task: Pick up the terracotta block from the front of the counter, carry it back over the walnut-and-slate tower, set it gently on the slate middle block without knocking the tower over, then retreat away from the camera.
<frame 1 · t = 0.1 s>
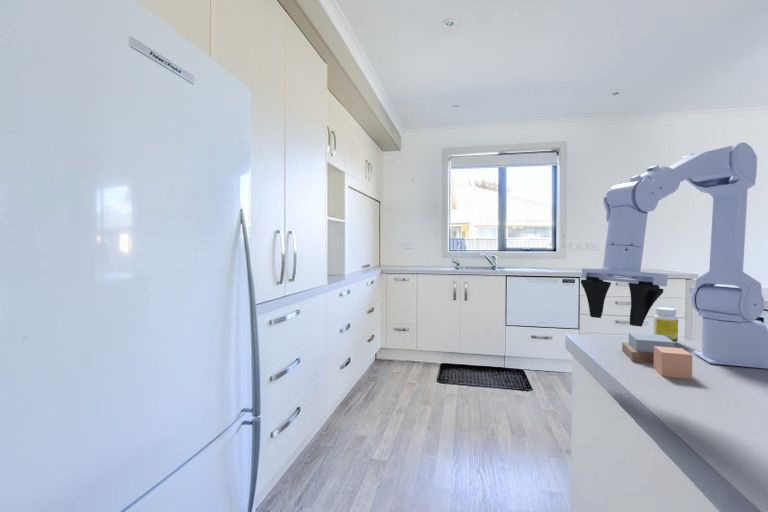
hand: (614, 321, 64), 10 cm above the counter, tool pointing down, fingers open, 7 cm apart
slate middle block: (650, 348, 76), point 2 cm above the counter, touching walnut base block
terracotta block: (671, 373, 67), on the counter
supplement bottle: (665, 342, 89), on the counter
walnut base block: (648, 360, 76), on the counter, touching slate middle block
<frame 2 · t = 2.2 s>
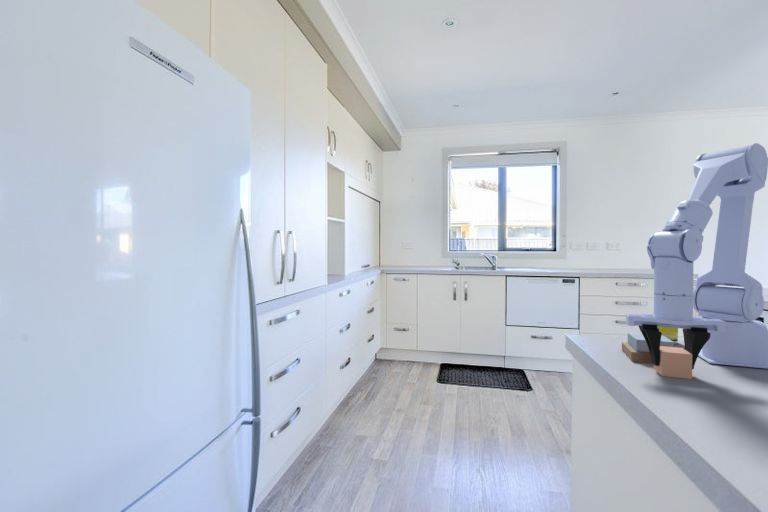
hand: (672, 365, 67), 1 cm above the counter, tool pointing down, fingers closed on terracotta block, 4 cm apart
terracotta block: (671, 373, 67), on the counter, touching gripper
everything else where it was.
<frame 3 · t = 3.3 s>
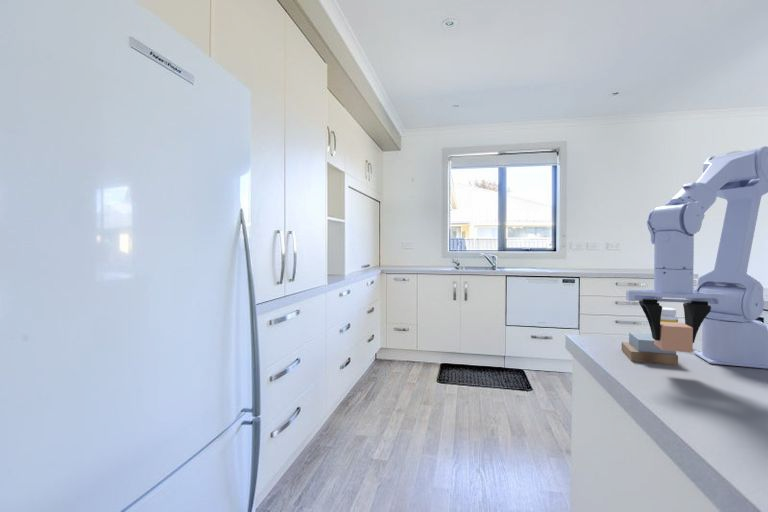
hand: (672, 340, 67), 6 cm above the counter, tool pointing down, fingers closed on terracotta block, 4 cm apart
terracotta block: (672, 348, 67), point 5 cm above the counter, touching gripper
everything else where it was.
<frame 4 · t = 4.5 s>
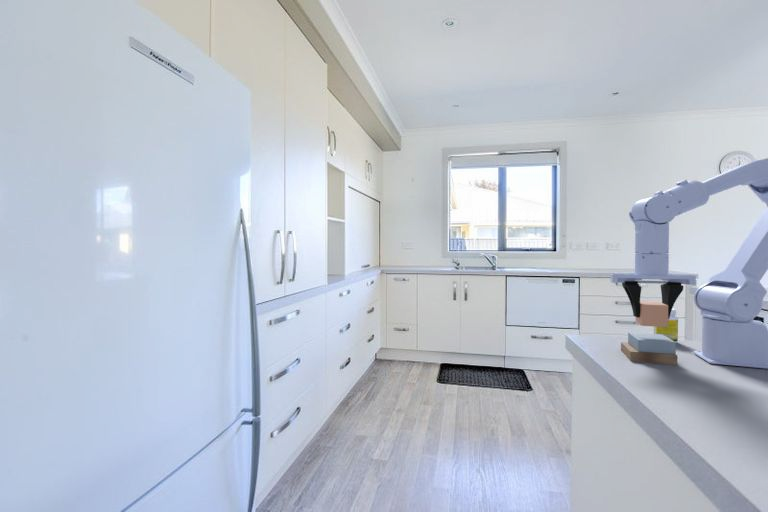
hand: (650, 317, 75), 9 cm above the counter, tool pointing down, fingers closed on terracotta block, 4 cm apart
terracotta block: (651, 324, 75), point 7 cm above the counter, touching gripper
everything else where it was.
when the fingers open (7 cm above the counter, at t = 5.4 s): terracotta block drops 2 cm, point 4 cm above the counter.
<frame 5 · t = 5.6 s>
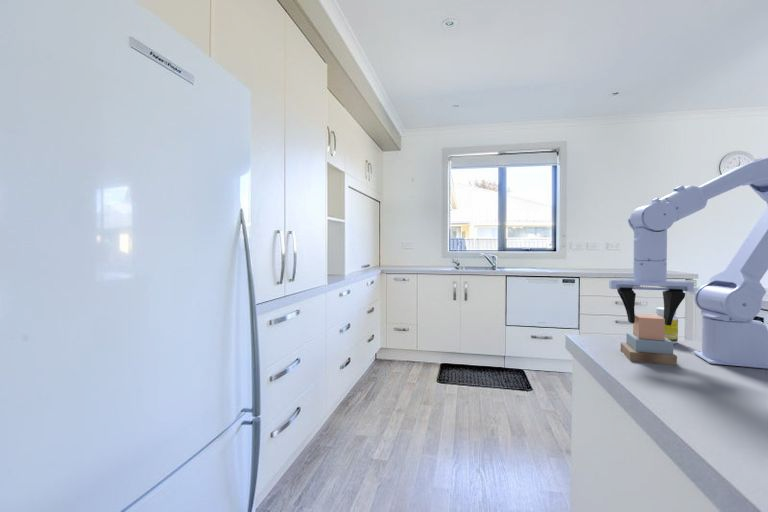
hand: (649, 323, 76), 7 cm above the counter, tool pointing down, fingers open, 6 cm apart
terracotta block: (648, 337, 77), point 4 cm above the counter
everything else where it was.
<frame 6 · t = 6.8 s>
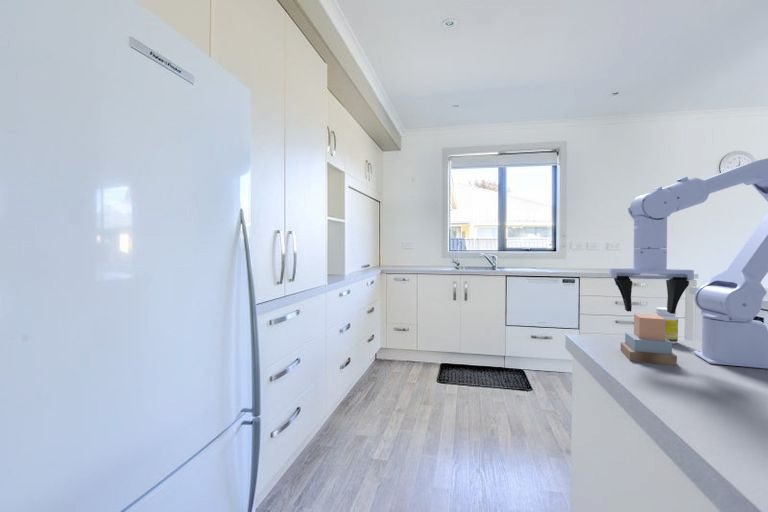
hand: (649, 311, 76), 10 cm above the counter, tool pointing down, fingers open, 7 cm apart
slate middle block: (647, 348, 76), point 2 cm above the counter, touching terracotta block, walnut base block
terracotta block: (648, 337, 76), point 4 cm above the counter, touching slate middle block
everything else where it was.
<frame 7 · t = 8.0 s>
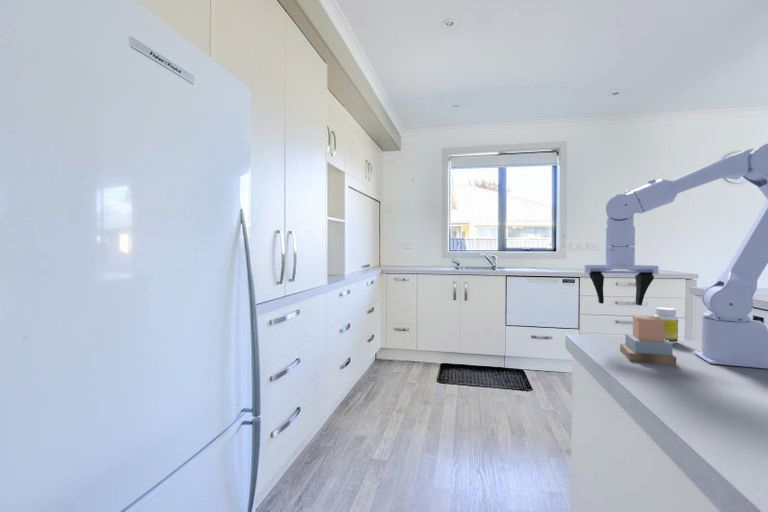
hand: (619, 303, 84), 10 cm above the counter, tool pointing down, fingers open, 7 cm apart
nothing on the counter moved.
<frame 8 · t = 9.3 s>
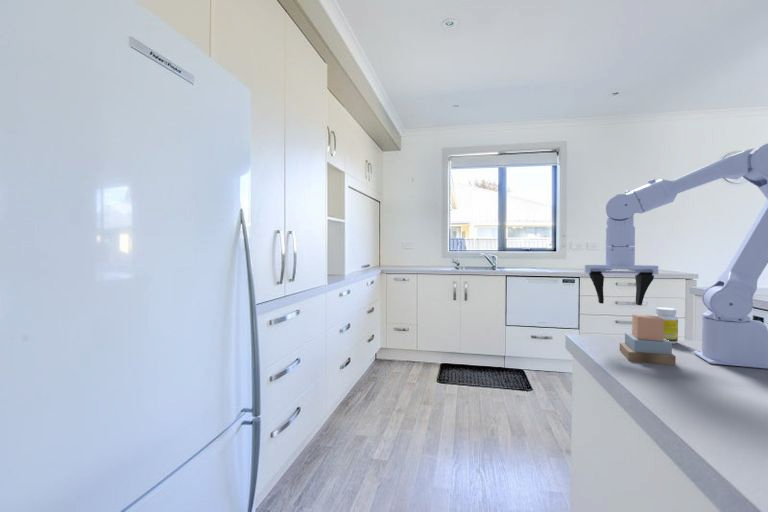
hand: (619, 303, 84), 10 cm above the counter, tool pointing down, fingers open, 7 cm apart
nothing on the counter moved.
at the end: terracotta block 0.2 cm off-centre on the slate middle block, point 2.5 cm above the slate middle block's base; terracotta block tilted 1°; slate middle block moved 0.8 cm from its start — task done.
